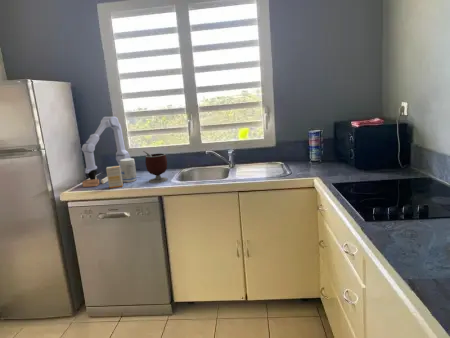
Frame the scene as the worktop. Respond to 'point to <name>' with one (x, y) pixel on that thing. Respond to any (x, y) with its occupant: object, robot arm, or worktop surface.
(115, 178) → the supplement box
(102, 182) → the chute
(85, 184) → the block
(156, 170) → the mate gourd
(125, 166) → the supplement tub
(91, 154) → the robot arm
